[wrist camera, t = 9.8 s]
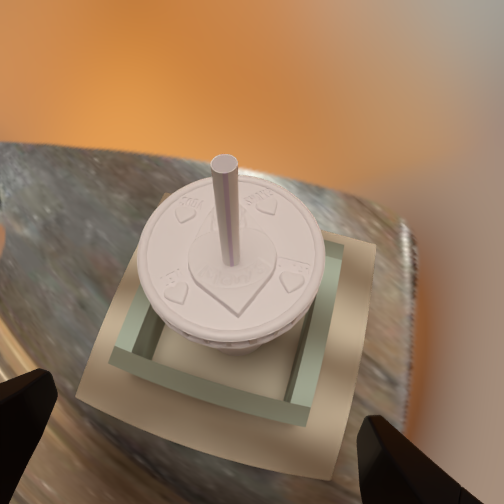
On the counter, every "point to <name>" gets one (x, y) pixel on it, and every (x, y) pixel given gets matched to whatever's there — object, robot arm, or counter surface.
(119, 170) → the counter surface
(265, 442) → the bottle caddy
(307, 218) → the smoothie
